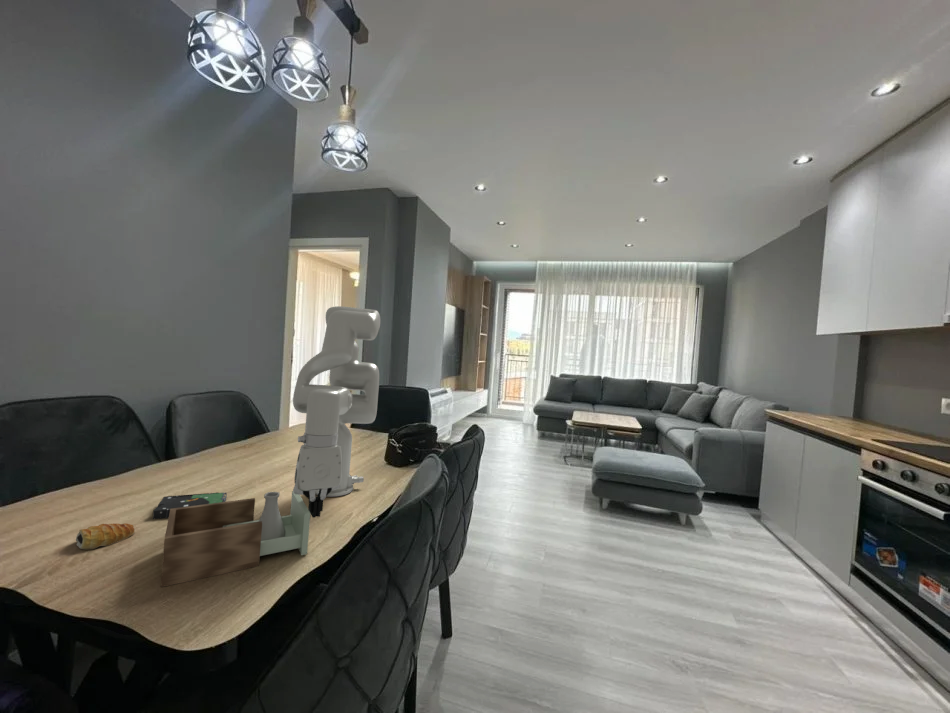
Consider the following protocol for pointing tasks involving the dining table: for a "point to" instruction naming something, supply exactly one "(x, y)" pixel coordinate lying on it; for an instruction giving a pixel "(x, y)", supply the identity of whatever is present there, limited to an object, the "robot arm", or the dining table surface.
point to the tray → (289, 530)
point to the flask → (271, 518)
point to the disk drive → (186, 502)
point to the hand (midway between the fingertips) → (315, 515)
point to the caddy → (210, 541)
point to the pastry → (103, 535)
